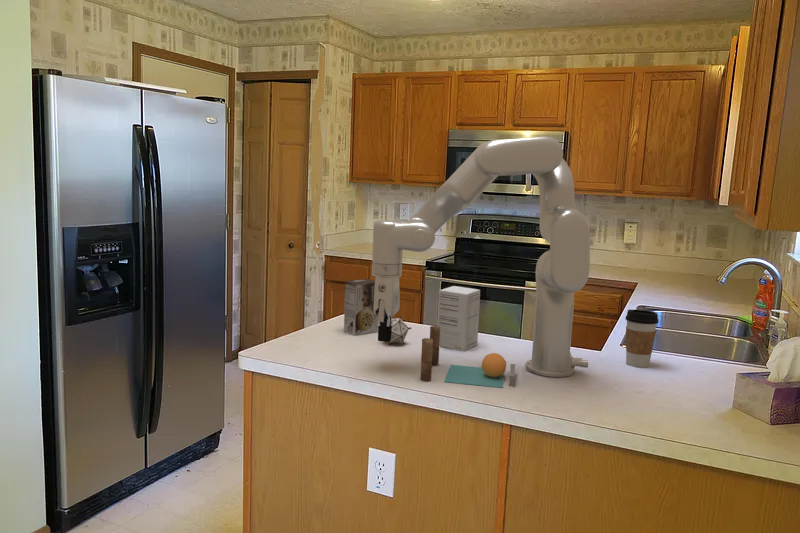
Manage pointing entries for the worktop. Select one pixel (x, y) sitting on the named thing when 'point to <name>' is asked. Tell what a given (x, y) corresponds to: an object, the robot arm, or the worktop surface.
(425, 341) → the post near
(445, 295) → the supplement box
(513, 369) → the stopper strip
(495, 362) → the ball
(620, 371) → the worktop surface
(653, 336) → the coffee cup
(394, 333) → the game die
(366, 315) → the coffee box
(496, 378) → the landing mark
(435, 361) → the post far
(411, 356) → the worktop surface
